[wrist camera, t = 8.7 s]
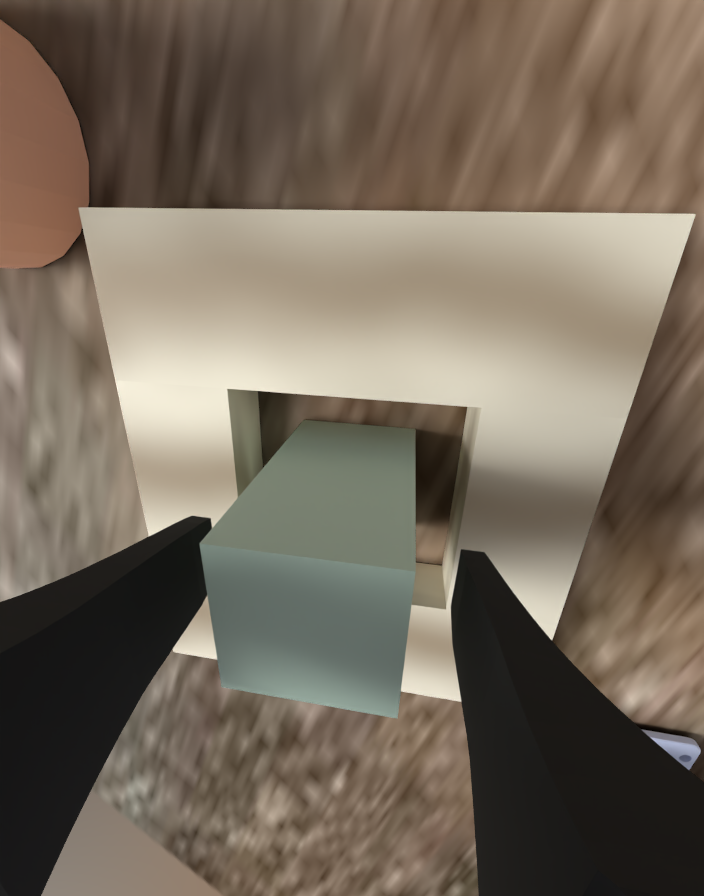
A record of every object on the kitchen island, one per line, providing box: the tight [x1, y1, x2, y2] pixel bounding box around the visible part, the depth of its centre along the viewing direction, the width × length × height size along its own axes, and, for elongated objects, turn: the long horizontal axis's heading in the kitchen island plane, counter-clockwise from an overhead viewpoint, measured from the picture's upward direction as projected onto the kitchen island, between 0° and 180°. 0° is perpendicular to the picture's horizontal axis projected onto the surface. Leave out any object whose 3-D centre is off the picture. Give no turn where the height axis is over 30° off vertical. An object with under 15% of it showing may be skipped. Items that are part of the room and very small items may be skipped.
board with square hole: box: [78, 207, 696, 702], centre depth 14 cm, size 18×16×2 cm
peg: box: [199, 420, 416, 718], centre depth 12 cm, size 4×4×8 cm
